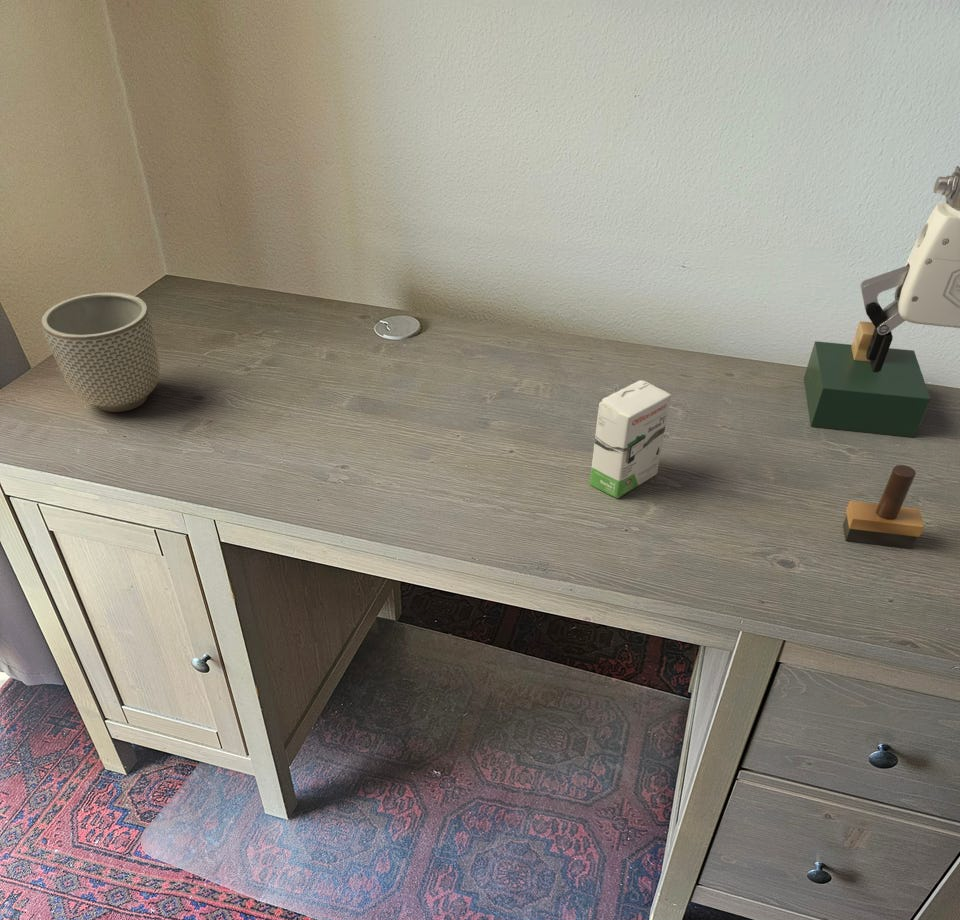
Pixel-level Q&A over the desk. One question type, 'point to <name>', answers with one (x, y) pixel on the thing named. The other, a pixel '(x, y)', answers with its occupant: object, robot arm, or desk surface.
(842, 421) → the enamel box
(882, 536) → the brush
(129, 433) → the desk surface
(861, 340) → the tan wooden cube
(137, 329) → the planter
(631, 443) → the ink box
